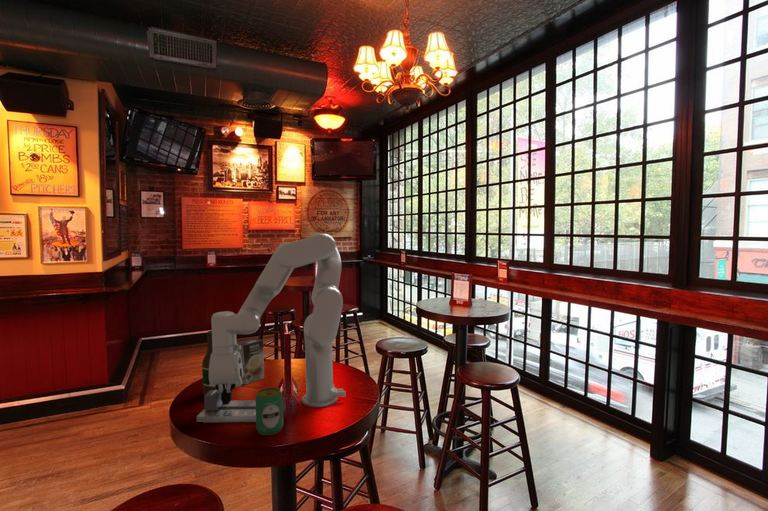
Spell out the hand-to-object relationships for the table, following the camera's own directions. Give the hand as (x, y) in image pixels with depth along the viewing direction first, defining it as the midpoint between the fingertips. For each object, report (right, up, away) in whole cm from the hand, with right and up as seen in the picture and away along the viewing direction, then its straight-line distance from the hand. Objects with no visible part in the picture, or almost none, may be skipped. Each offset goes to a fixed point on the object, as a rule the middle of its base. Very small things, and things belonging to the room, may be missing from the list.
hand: (226, 403), depth 137 cm
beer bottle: (-11, -3, +17) cm, 21 cm away
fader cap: (-4, -1, 0) cm, 5 cm away
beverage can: (+18, -4, -11) cm, 21 cm away
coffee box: (-2, -2, +31) cm, 31 cm away
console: (+5, -4, 0) cm, 6 cm away
